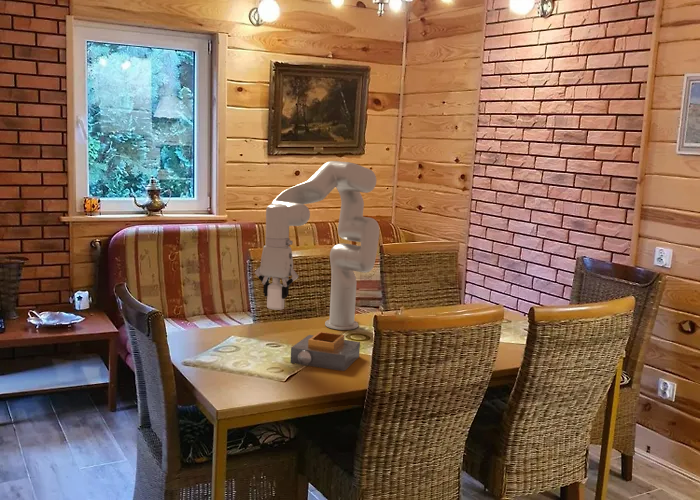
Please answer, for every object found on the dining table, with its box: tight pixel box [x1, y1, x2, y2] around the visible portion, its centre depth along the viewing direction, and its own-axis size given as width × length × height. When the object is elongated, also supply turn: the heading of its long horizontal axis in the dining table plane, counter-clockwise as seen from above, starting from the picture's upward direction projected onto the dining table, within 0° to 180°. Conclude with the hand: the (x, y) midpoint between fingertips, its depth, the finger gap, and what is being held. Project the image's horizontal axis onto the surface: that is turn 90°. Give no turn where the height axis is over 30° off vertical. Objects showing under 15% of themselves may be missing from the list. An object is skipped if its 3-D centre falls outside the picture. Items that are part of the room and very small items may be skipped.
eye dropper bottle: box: [266, 277, 285, 311], centre depth 238 cm, size 4×6×12 cm
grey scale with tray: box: [290, 331, 361, 372], centre depth 234 cm, size 18×18×8 cm
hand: (275, 296), depth 238 cm, fingers closed on eye dropper bottle, 5 cm apart
